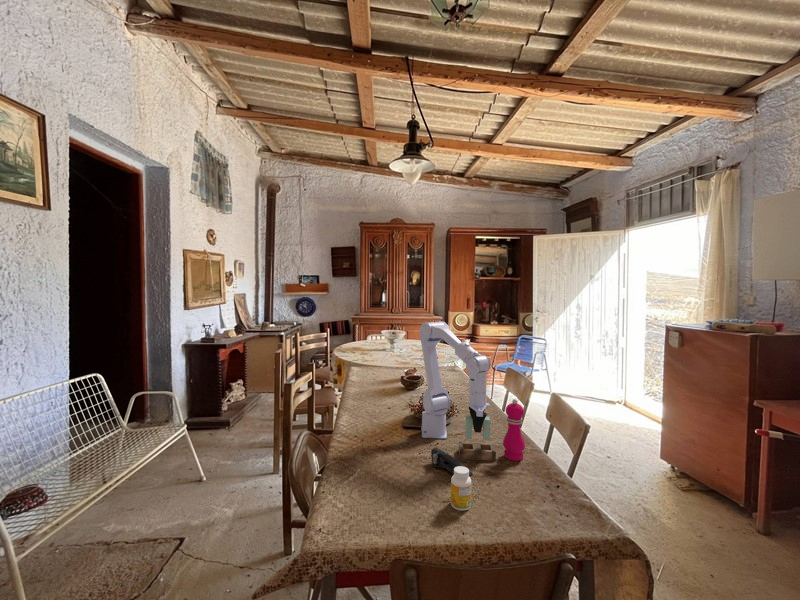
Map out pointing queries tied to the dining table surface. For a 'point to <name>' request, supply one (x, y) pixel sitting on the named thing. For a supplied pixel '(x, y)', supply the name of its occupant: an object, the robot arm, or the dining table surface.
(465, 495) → the supplement bottle
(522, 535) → the dining table surface
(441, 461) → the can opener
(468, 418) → the mint green foam block
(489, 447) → the brown wooden frame
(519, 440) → the pepper mill
